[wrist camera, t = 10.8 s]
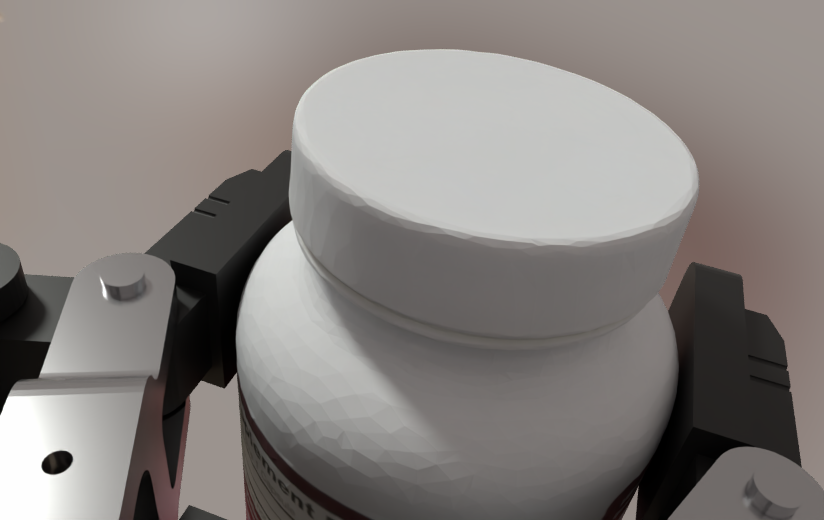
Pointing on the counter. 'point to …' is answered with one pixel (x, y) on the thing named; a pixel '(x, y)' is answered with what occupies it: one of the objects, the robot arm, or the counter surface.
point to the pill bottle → (463, 297)
